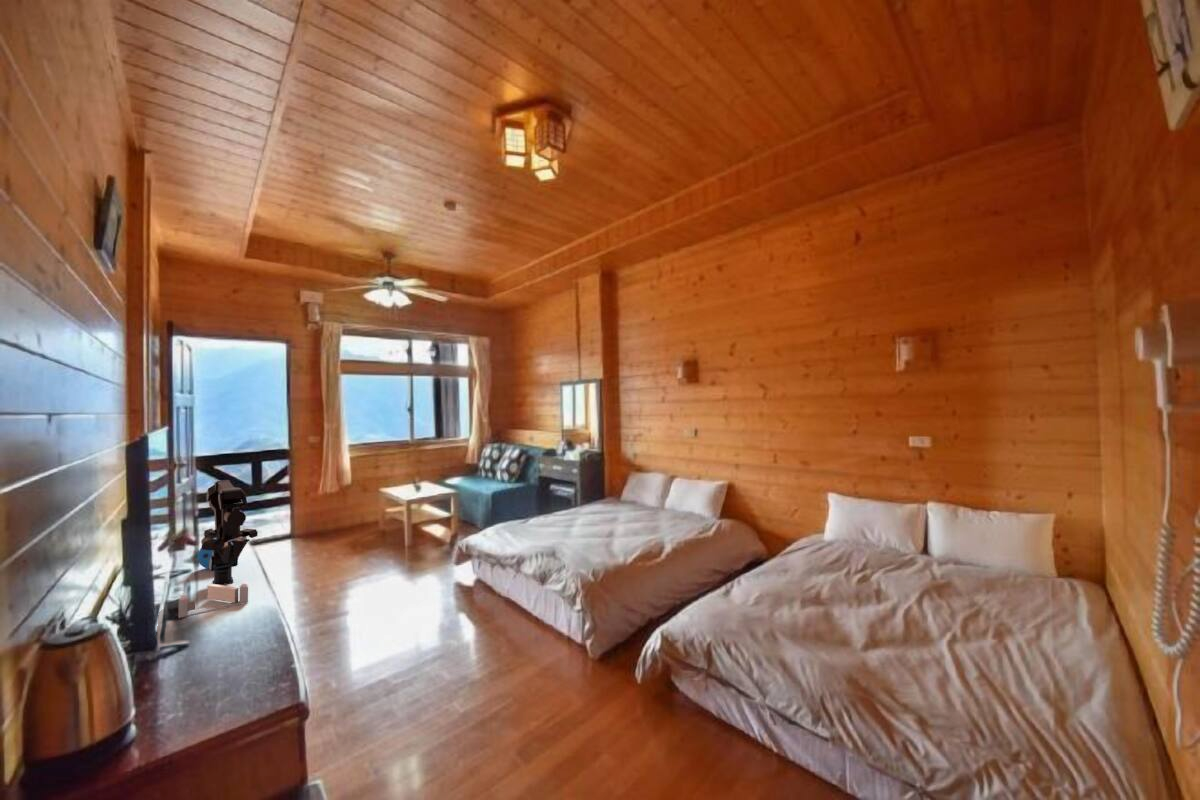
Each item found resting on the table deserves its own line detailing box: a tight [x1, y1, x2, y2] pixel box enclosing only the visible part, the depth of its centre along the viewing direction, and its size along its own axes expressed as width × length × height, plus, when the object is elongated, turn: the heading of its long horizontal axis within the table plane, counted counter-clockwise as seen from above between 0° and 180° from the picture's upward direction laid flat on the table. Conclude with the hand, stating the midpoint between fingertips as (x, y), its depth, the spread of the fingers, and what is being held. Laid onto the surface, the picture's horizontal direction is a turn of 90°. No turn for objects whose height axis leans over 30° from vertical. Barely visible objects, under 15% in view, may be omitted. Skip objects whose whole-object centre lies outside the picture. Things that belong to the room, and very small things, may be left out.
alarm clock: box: [197, 536, 233, 570], centre depth 209 cm, size 13×6×15 cm, turn 122°
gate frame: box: [178, 582, 249, 619], centre depth 170 cm, size 3×19×7 cm, turn 131°
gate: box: [206, 583, 240, 603], centre depth 176 cm, size 2×14×5 cm, turn 76°
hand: (230, 561), depth 182 cm, fingers open, 4 cm apart
